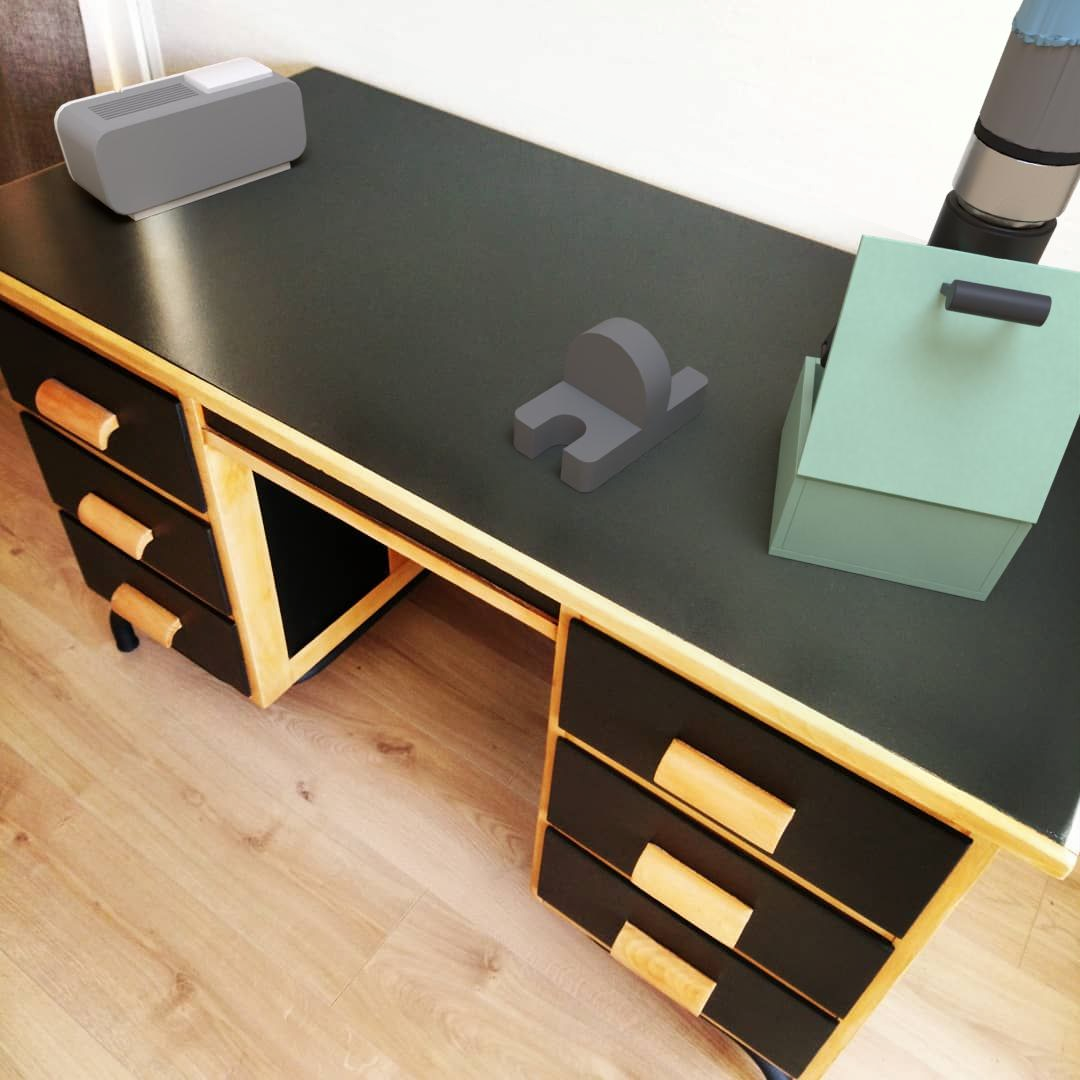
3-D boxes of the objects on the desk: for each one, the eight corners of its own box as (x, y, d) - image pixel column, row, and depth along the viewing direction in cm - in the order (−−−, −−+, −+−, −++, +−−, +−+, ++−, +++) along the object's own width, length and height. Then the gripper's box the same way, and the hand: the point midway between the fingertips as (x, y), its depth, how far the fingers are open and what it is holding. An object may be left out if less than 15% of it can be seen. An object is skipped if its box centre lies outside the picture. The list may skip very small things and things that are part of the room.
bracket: (507, 443, 87) (512, 346, 79) (631, 365, 96) (645, 272, 88) (585, 496, 83) (597, 399, 75) (706, 409, 92) (728, 314, 84)
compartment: (781, 431, 90) (806, 355, 84) (970, 469, 88) (1010, 394, 82) (767, 554, 79) (794, 477, 73) (984, 601, 77) (1032, 526, 70)
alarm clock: (269, 139, 127) (255, 46, 118) (310, 164, 123) (299, 68, 114) (77, 200, 113) (44, 99, 104) (116, 230, 109) (86, 127, 100)
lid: (862, 234, 65) (872, 240, 60) (1128, 280, 63) (1163, 291, 58) (796, 471, 73) (799, 495, 67) (1033, 520, 70) (1056, 549, 65)
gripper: (1163, 205, 66) (1025, 446, 82) (841, 152, 69) (769, 395, 85) (1187, 258, 61) (1035, 503, 77) (838, 198, 63) (762, 447, 80)
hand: (895, 447), depth 81 cm, fingers closed on small box, 10 cm apart
